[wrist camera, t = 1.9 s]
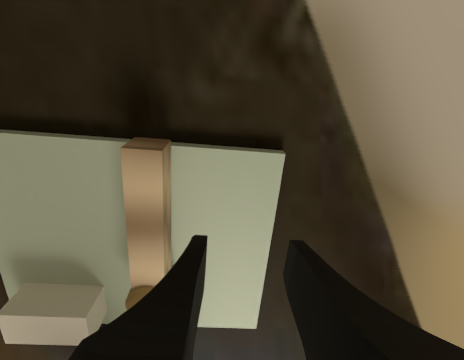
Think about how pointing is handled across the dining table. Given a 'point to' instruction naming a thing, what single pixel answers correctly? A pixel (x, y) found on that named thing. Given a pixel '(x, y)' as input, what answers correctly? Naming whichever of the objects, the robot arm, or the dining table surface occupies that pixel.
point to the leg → (147, 212)
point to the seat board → (114, 221)
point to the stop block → (53, 314)
